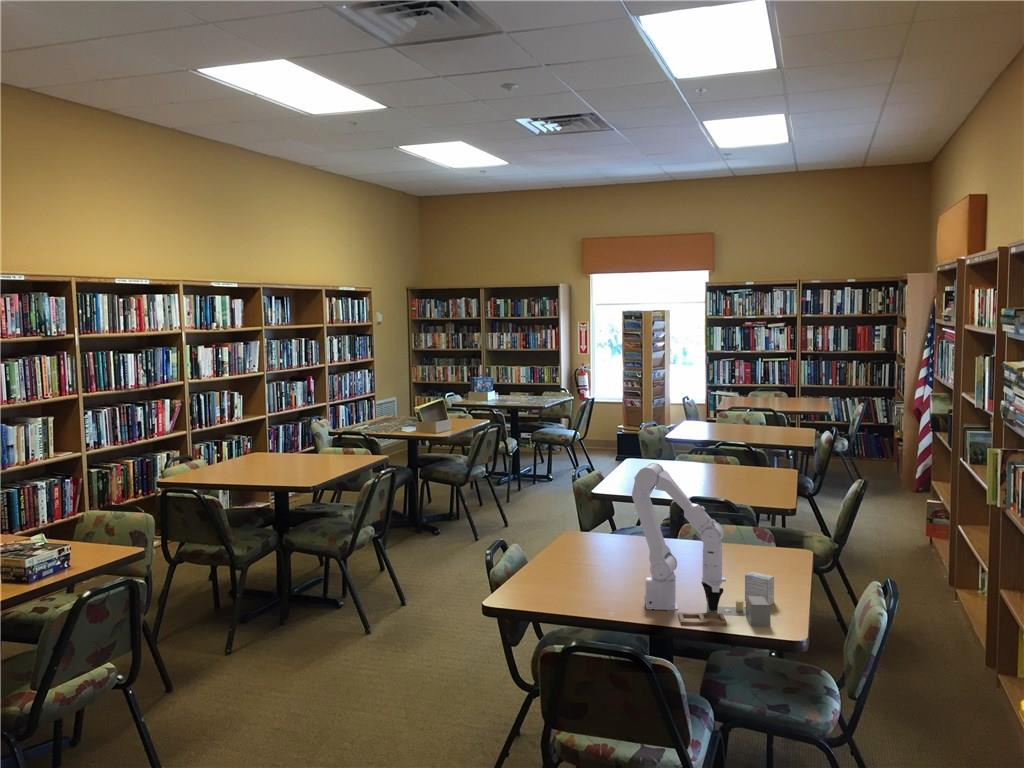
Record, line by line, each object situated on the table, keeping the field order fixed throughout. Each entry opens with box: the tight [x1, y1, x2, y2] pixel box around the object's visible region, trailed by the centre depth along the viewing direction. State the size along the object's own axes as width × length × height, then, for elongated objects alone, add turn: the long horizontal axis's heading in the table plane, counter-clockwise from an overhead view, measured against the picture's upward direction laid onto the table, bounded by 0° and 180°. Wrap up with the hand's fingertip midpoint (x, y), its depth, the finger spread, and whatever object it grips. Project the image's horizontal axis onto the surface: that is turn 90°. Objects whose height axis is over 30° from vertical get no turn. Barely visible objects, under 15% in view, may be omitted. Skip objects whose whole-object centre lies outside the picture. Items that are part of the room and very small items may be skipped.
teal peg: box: [706, 599, 719, 613], centre depth 241 cm, size 3×3×6 cm
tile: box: [718, 599, 746, 617], centre depth 242 cm, size 9×7×3 cm
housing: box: [745, 596, 772, 628], centre depth 233 cm, size 8×5×6 cm
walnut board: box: [677, 611, 728, 627], centre depth 234 cm, size 13×8×1 cm, turn 84°
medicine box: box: [744, 571, 775, 605], centre depth 250 cm, size 8×4×9 cm, turn 48°
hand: (712, 608), depth 241 cm, fingers closed on teal peg, 3 cm apart
